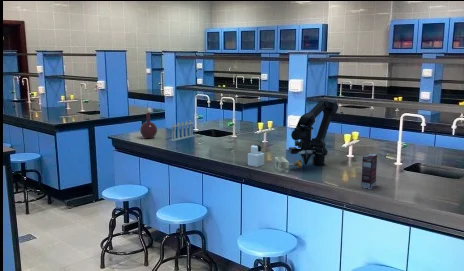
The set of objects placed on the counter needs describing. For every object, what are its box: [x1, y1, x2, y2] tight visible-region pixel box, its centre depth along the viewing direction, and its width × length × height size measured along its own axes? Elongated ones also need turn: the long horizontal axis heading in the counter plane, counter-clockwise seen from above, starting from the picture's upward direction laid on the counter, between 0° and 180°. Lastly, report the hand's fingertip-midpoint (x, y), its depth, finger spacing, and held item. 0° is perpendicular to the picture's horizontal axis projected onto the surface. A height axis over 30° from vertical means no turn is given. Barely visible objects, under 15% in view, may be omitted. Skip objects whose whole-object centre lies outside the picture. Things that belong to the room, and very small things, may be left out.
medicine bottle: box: [247, 144, 265, 168], centre depth 246 cm, size 7×7×12 cm
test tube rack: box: [168, 120, 196, 142], centre depth 328 cm, size 25×4×13 cm, turn 142°
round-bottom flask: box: [139, 112, 158, 139], centre depth 328 cm, size 13×13×20 cm
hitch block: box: [273, 156, 290, 174], centre depth 236 cm, size 5×12×6 cm, turn 9°
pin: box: [289, 159, 302, 169], centre depth 237 cm, size 12×4×4 cm, turn 99°
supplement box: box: [360, 152, 378, 190], centre depth 204 cm, size 9×5×16 cm, turn 144°
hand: (305, 164), depth 238 cm, fingers closed
